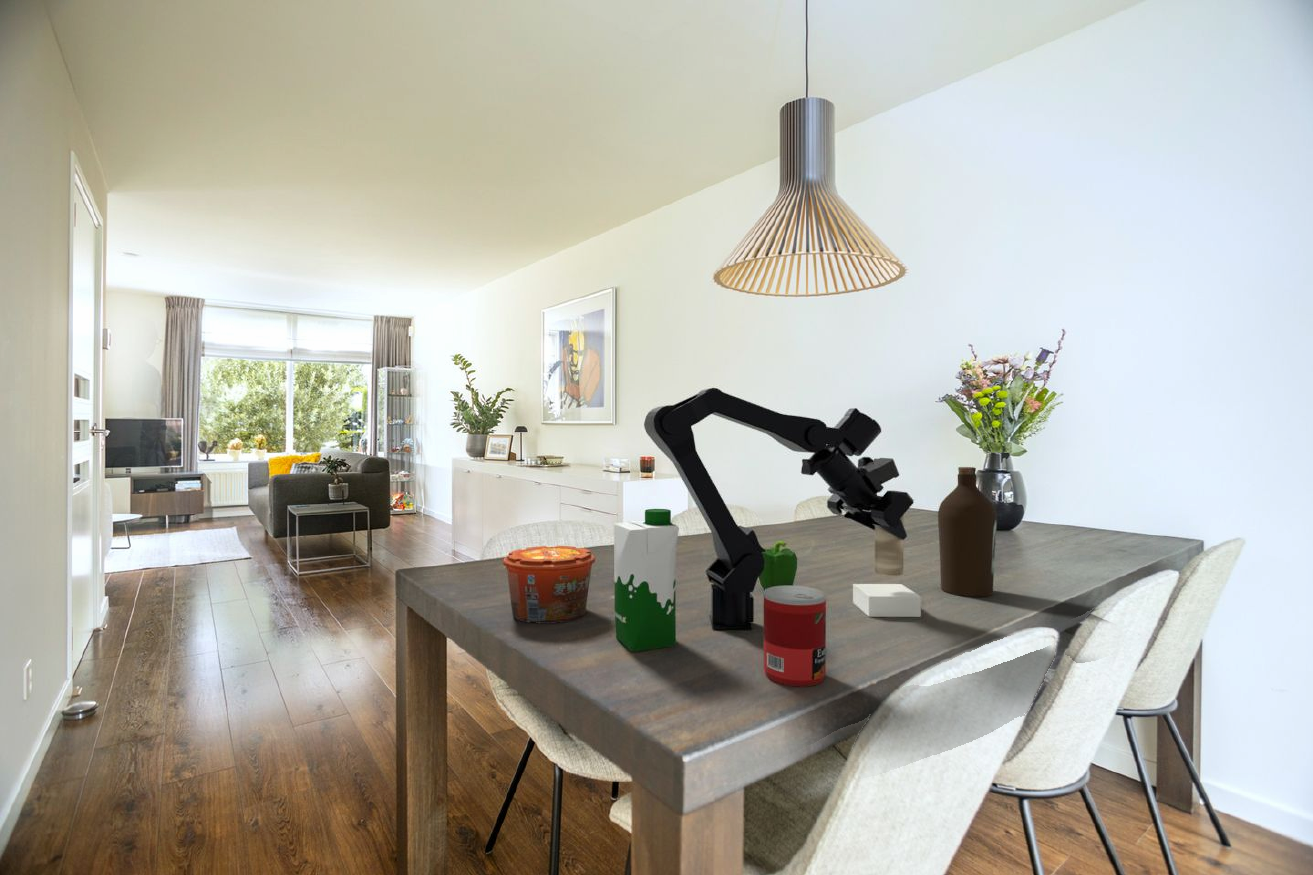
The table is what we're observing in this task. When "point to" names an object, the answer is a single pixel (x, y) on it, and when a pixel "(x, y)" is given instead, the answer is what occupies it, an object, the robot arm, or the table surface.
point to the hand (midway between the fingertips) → (895, 535)
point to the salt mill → (888, 553)
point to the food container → (549, 582)
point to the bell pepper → (778, 567)
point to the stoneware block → (886, 600)
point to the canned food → (794, 635)
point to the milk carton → (646, 581)
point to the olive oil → (967, 539)
